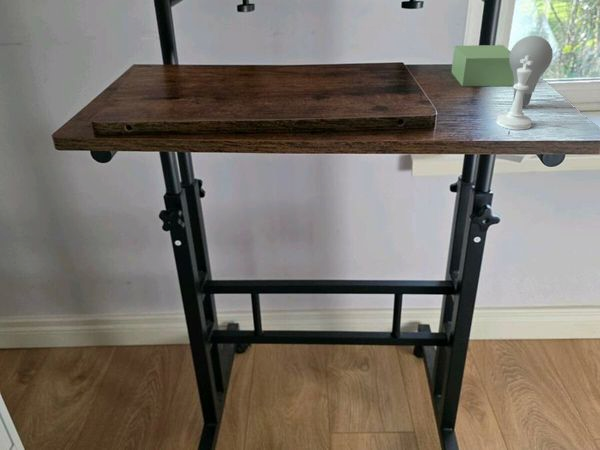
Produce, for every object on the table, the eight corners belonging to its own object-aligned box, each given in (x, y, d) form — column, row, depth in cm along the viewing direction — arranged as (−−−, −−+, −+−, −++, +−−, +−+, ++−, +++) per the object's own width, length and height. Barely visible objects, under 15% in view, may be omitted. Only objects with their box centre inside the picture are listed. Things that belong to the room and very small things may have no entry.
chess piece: (516, 132, 77) (530, 62, 72) (489, 122, 80) (501, 54, 75) (538, 125, 79) (554, 56, 74) (511, 115, 83) (524, 49, 77)
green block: (512, 86, 95) (518, 57, 92) (462, 86, 95) (466, 58, 93) (498, 71, 103) (502, 45, 100) (451, 72, 103) (454, 45, 100)
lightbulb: (516, 98, 89) (529, 30, 84) (548, 108, 85) (565, 36, 79) (492, 105, 87) (504, 35, 81) (524, 116, 82) (540, 43, 76)
